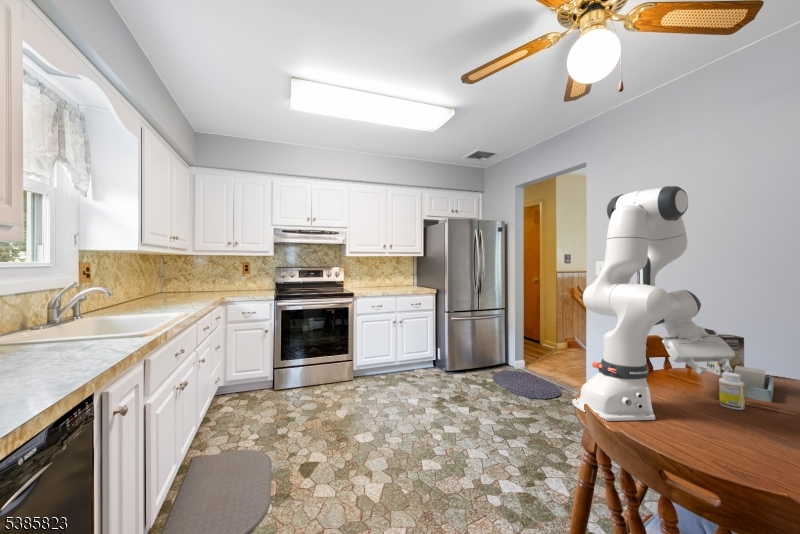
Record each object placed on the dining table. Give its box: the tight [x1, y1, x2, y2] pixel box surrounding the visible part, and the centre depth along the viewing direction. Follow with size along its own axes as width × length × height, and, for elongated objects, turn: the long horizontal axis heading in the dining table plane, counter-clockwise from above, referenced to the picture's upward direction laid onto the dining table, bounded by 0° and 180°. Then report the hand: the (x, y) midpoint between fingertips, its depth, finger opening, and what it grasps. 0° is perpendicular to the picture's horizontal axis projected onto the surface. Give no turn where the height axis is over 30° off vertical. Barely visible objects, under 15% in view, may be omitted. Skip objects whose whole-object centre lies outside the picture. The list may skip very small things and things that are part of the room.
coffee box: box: [706, 333, 745, 377], centre depth 129 cm, size 9×6×16 cm
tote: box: [731, 371, 775, 403], centre depth 112 cm, size 20×11×4 cm, turn 129°
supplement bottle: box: [718, 372, 746, 411], centre depth 101 cm, size 6×6×10 cm
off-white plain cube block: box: [734, 366, 766, 389], centre depth 115 cm, size 6×7×6 cm
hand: (715, 372), depth 106 cm, fingers open, 8 cm apart
